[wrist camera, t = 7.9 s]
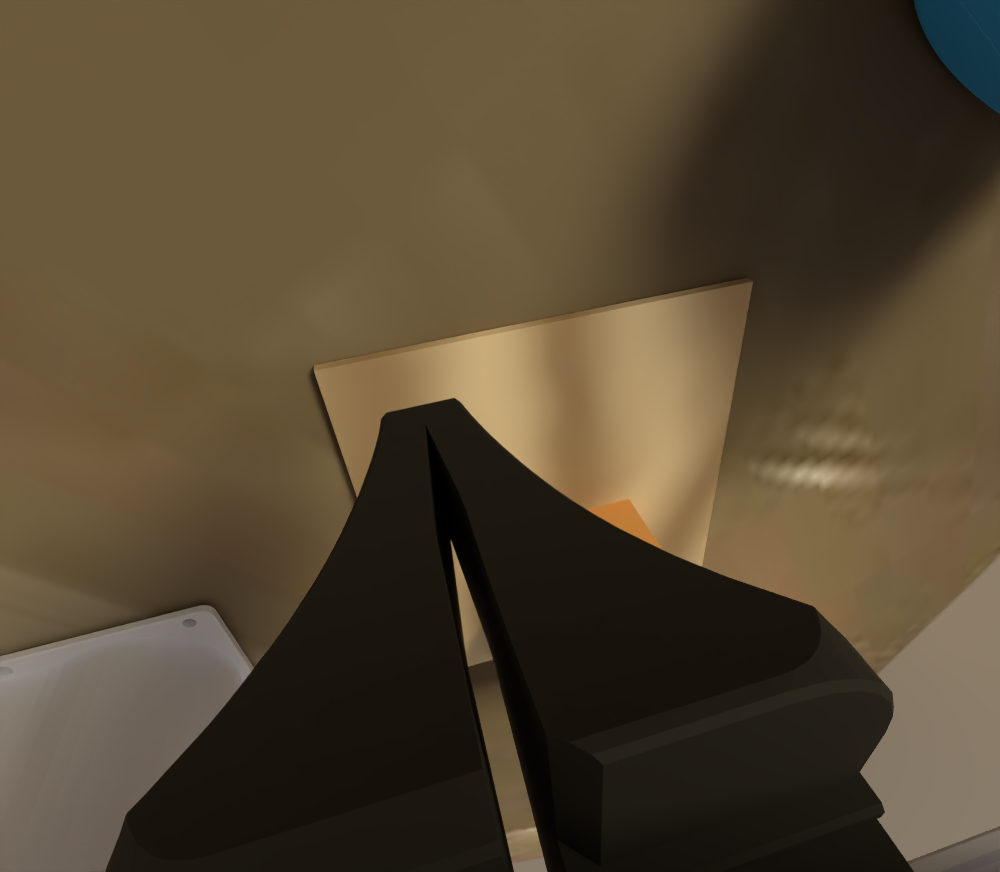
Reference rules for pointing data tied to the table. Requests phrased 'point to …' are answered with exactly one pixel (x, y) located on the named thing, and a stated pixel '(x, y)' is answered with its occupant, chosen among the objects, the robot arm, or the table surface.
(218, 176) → the table surface
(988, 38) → the alarm clock
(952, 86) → the table surface
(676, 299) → the dock
